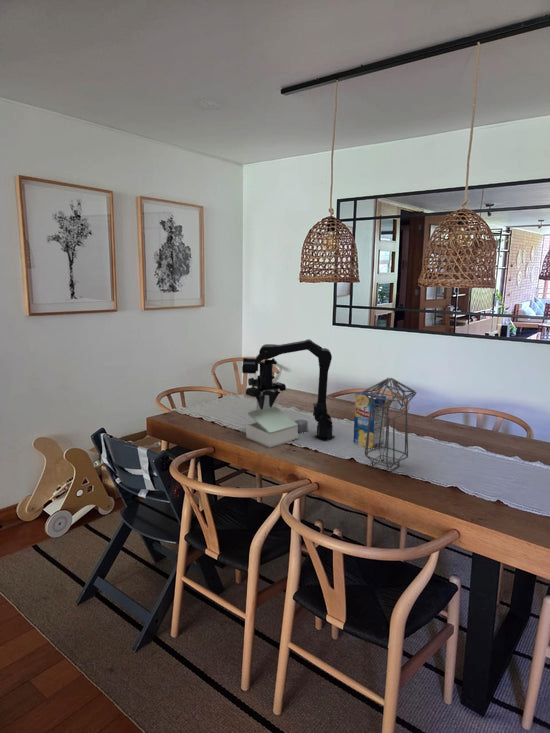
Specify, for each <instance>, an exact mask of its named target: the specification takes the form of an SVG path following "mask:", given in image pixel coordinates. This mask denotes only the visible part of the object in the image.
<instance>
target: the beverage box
mask: <svg viewBox="0 0 550 733" xmlns="http://www.w3.org/2000/svg"><path fill="white" fill-rule="evenodd" d="M362 392H363V391H360V392H356V393H355V394H354V395H355V396H354V419H353V440H352V441H353V442H356V443H359V444H362V445H364V446H366V438H367V431H368V423H369V413H370V412H369V410H370V400H369V399H368V398H367V397H366V396H365V395H364V394H362ZM366 393H368V394H371V392H366ZM372 395H375V392H372ZM367 396H368V395H367ZM376 396H377V395H376ZM368 397H369V398H370V399H371V397H370V396H368ZM378 397H379V398H380V397H381V394H379V395H378ZM382 398H383V399H387V396H386V395H383V396H382ZM372 401H373V398H372ZM381 401H382V402H383V403H386V402H387V400H381ZM381 401H380V404H382V402H381ZM374 403H375V404H379V399H376V398H374ZM374 406H375V405H373V403H371V410H373V408H374ZM382 406H384V405H382ZM385 406H387V404H385ZM378 407H381V406H379V405H376V406H375V408H374V409H376V408H378ZM384 410H385V411H386V408H384ZM371 412H372V411H371ZM372 413H373V414H376V415H380V416H382V407H381V408H378V409H376V410H373V412H372ZM373 414H371V419H370V432H369V445H368V447H369V448H372V449H373V448H376V447H378V445H379V437H380V428H381V418H382V417H380V416H376V415H373ZM383 417H386V414H385V413H383ZM385 423H386V418H383V422H382V431H381V440H380V446H382V445H383V446H384V445H385V444H384V440H385V427H386V424H385ZM356 443H355V444H356ZM369 448H368V449H369Z"/></svg>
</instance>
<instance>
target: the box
mask: <svg viewBox="0 0 550 733" xmlns="http://www.w3.org/2000/svg"><path fill="white" fill-rule="evenodd" d="M245 428H246V429H245V430H246V435H245V436H246V439H249V440H250V441H252V442H255V443H258V444H260V445H261V446H264V447H267V448H268V449H271V448H274V447H276V446H277V447H278V446H280V445H283V444H287V443H290V442H293V441H292V440H294V441H296V440H295V439H297V440H298V434H299V433H298V426H296V427H293V428H289V429H286V430H283V431H279V432H276V433H272V434H269V433H268V432H267V431H266V430H264V429H263V428H262V427H261V426H260V425H259V424H258V423H257V422H255V421H254V422H252V423H249V424H246V427H245ZM289 441H290V442H289ZM286 442H287V443H286Z"/></svg>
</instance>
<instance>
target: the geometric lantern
mask: <svg viewBox="0 0 550 733" xmlns="http://www.w3.org/2000/svg"><path fill="white" fill-rule="evenodd" d="M402 387H403V388H405V389H407V390H405V389H403V388H402ZM386 389H388V390H389V391H390V393H391V399H390V398H386V399H383V398H382V396H384V393H385V391H386ZM393 390H394V391H393ZM381 391H382V393H381ZM361 392H362V394H364V395H365V396H366V397H367V398H368V399H369V400H370V410H369V412H370V413H369V423H368V431H367V438H366V446H365V447H364V456H365V457H366V458H367V459H368V460H370V462H371V464H372V466H374V465H373V463H375V464H377V465H380V466H383V467H386V468H387V470H389V471H390V470H392V469H393V468H392V467H393V466H395V465H396V464H397V463H398V464H399V465H400V462H401V461H404V460H406V459H407V458H409V440H408V439H409V437H408V435H409V434H408V433H409V432H408V413H409V412H408V404H409V403H410V401H411V400H413V398H414V397H415V396H416V395H417V391H416V390H414V389H412V388H411V387H408V386H407V385H405V384H403V383H402V382H400V381H398V380H396V379H395V378H393V377H387V378H386V379H383V380H381V381H380V382H377V383H376V384H373V385H372V386H370V387H369V388H366V389H364V390H362V391H361ZM366 392H371V394H368V393H366ZM372 393H375V395H372ZM380 393H381V394H380ZM401 393H402V395H401ZM406 393H408V394H406ZM367 395H368V396H370V397H371V399H370V398H369V397H368V396H367ZM376 395H377V396H376ZM378 395H381V397H380V398H379V397H378ZM372 398H373V401H372ZM374 398H376V399H379V404H375V403H374ZM396 399H397V400H396ZM381 400H386V403H383V402H382V401H381ZM405 400H406V402H405ZM380 401H381V402H382V404H380ZM400 401H401V402H400ZM392 402H397V403H398V404H399V405H400V409H399V408H396V407H391V406H390V405H391V404H392ZM371 403H373V405H375V406H376V405H379V406H381V407H382V416H380V415H376V414H373V413H372V412H373V410H376V409H378V408H381V407H378V408H376V409H374V408H375V406H374V408H373V410H371ZM385 404H386V406H385ZM387 404H388V405H387ZM382 405H384V406H382ZM403 407H405V410H403V409H402V408H403ZM384 408H385V410H384ZM386 409H387V410H386ZM390 409H393V410H397V412H396V414H395V415H394V417H393V418H392V417H389V411H390ZM371 411H372V412H371ZM399 412H404V414H401V415H398V414H399ZM383 413H385V417H383ZM371 414H373V415H376V416H380V417H382V418H381V428H380V437H379V445H378V447H376V448H374V449H372V450H371V449H370V450H369V448H368V445H369V432H370V419H371ZM403 416H405V427H404V451H401V450H398V449H395V446H396V445H395V444H396V442H395V434H396V433H395V432H396V431H395V426H396V424H395V421H396V419H399V418H400V417H403ZM383 418H385V420H386V421H385V423H386V424H385V439H384V440H385V444H384V445H383V446H380V440H381V431H382V422H383ZM390 420H391V421H392V447H390V446H389V440H390V439H389V436H390ZM380 448H383V452H381V449H380ZM375 450H378V452H379V455H378V456H377V457H371V456H370V455H369V453H372V452H374V451H375ZM389 450H390V451H392V456H390V455H388V454H389ZM385 451H386V453H385ZM395 452H398V453H400V454H402V455H401V456H400V457H399V458H396V457H395ZM384 454H386V455H384ZM403 456H405V457H403ZM385 457H386V458H385ZM384 458H385V460H386V461H380V459H381V460H382V459H383V460H384ZM388 459H392V462H393V463H390V462H387V461H389V460H388ZM395 460H397V461H395ZM377 461H378V462H377ZM372 466H371V467H372Z"/></svg>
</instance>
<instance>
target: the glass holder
mask: <svg viewBox="0 0 550 733" xmlns="http://www.w3.org/2000/svg"><path fill="white" fill-rule="evenodd" d="M256 388H258V389H259V388H260V387H257V386H256ZM283 394H284V391H281V395H280V397H279V399H278V400H277V401H276V402H274V403H273V405H272V407H274V406H276V405H277V404H278V403H279V402H280V401H281V399H282V397H283ZM263 395H265V399H264V406H263V409H265V408H269V407H270V406H269V393H268V391H266V392H263ZM257 410H261V409H260V406H259V403H258V401H257V400H256V411H257Z"/></svg>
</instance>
